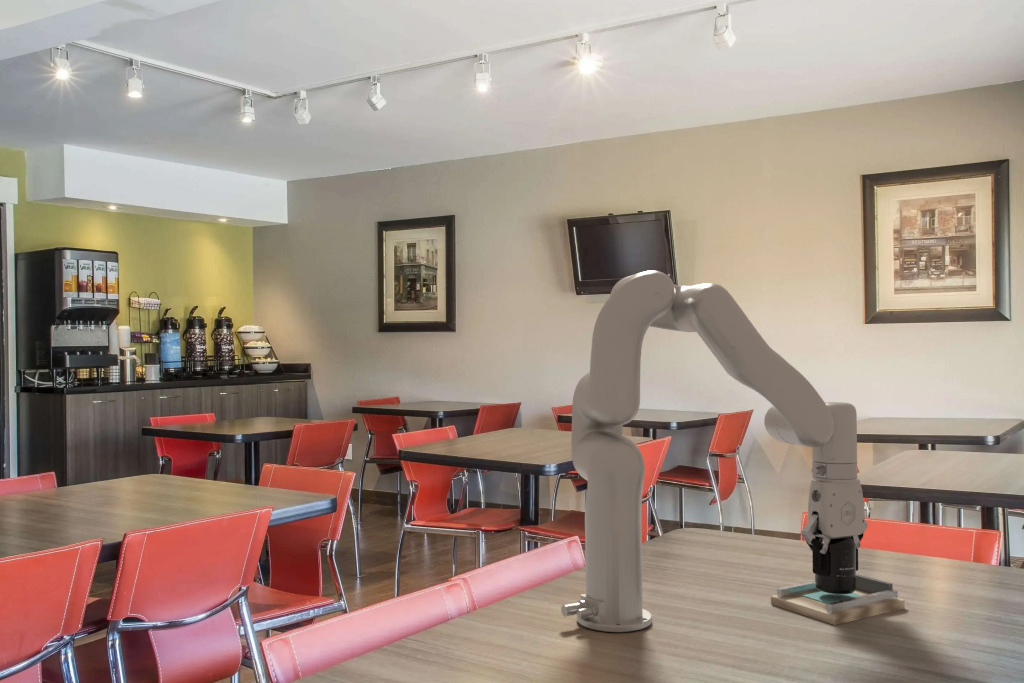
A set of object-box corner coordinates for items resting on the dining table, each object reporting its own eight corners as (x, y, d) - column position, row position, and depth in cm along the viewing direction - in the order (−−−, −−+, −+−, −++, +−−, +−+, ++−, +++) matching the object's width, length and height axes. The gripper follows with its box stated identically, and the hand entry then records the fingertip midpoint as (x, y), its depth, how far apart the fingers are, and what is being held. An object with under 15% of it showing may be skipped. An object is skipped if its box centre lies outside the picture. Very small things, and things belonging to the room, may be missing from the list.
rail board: (834, 625, 143) (834, 600, 143) (771, 604, 155) (770, 581, 155) (904, 608, 152) (904, 585, 152) (839, 589, 164) (838, 568, 164)
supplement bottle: (849, 597, 149) (849, 527, 149) (809, 591, 153) (809, 523, 153) (860, 588, 154) (860, 521, 155) (822, 582, 158) (821, 517, 159)
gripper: (817, 477, 146) (818, 583, 146) (884, 470, 155) (885, 570, 155) (783, 472, 153) (784, 573, 153) (849, 466, 162) (850, 561, 161)
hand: (835, 571), depth 154 cm, fingers closed on supplement bottle, 6 cm apart
